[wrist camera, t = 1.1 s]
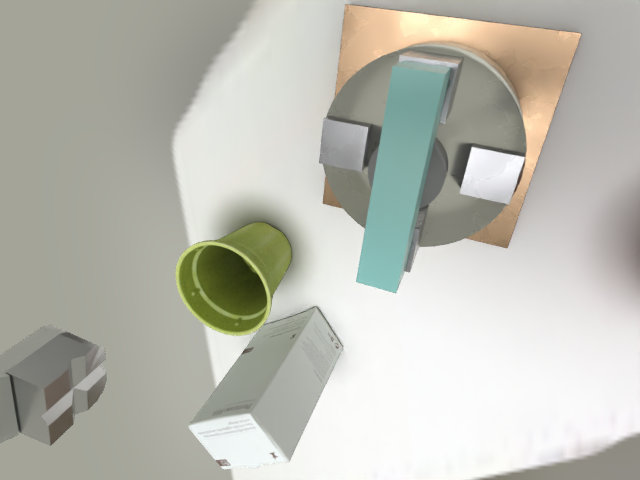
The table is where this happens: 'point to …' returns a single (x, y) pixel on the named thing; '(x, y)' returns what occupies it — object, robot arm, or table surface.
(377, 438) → the table surface
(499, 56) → the socket
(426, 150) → the teal rectangular stick
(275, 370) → the skincare box
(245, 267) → the plant pot
